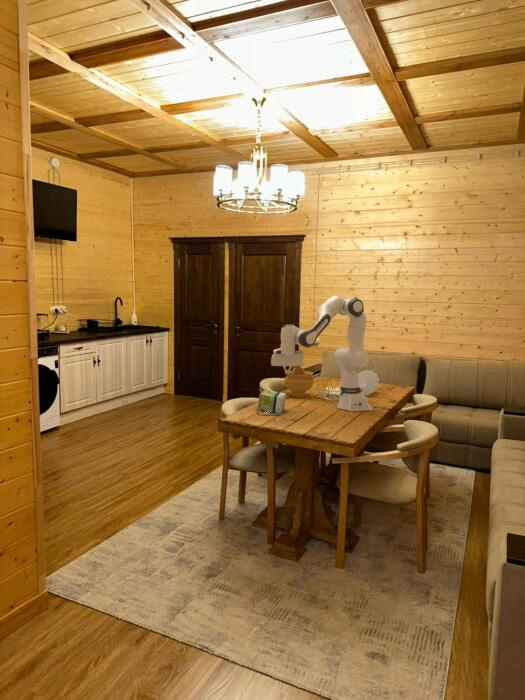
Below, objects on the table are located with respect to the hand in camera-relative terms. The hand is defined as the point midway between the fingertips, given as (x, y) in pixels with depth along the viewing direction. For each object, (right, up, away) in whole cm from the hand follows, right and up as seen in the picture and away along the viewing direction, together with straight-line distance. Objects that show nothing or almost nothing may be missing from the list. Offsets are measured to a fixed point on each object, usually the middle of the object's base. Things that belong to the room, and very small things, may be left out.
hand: (287, 372), depth 297 cm
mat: (-11, -24, +2) cm, 27 cm away
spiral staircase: (+63, -19, +66) cm, 93 cm away
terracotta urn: (+11, -19, +51) cm, 55 cm away
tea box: (-2, -19, +3) cm, 20 cm away
